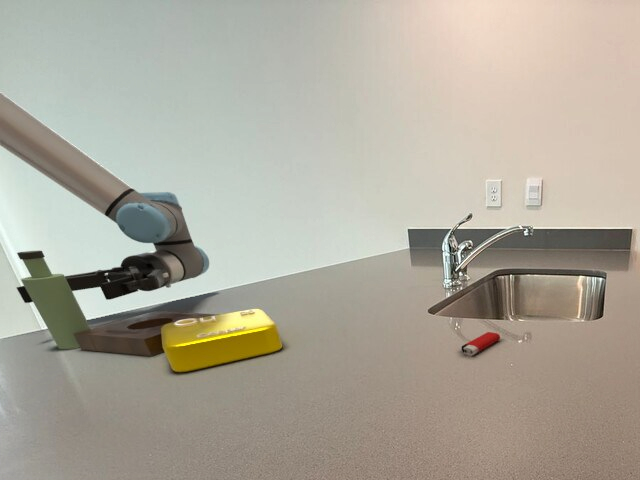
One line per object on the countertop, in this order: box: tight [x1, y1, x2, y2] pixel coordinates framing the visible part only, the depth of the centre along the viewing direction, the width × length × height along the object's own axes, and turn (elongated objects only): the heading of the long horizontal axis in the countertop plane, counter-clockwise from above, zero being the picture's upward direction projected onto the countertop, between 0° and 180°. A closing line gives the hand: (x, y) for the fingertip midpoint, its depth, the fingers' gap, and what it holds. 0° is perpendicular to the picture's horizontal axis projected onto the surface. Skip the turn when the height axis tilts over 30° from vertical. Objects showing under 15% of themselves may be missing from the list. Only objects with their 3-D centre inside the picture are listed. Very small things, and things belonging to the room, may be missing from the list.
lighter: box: [461, 331, 501, 357], centre depth 66 cm, size 3×1×8 cm
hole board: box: [73, 310, 220, 357], centre depth 74 cm, size 16×14×3 cm
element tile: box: [161, 308, 283, 373], centre depth 67 cm, size 15×15×5 cm
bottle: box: [16, 250, 92, 350], centre depth 69 cm, size 5×5×16 cm
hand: (63, 293), depth 71 cm, fingers open, 13 cm apart
